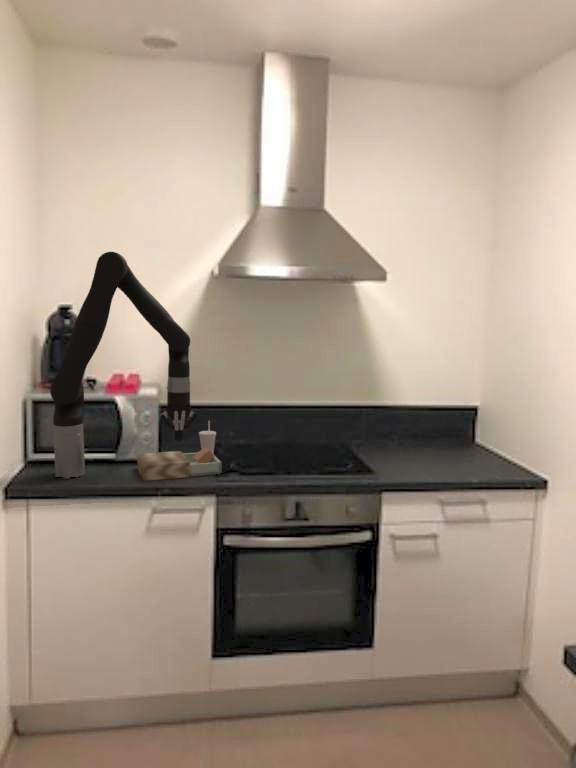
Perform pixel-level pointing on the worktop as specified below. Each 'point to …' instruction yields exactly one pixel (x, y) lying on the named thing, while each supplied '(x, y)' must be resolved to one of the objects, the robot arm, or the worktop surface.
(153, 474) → the chevron patterned box
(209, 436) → the smoothie
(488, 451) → the worktop surface
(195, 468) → the box
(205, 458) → the orange brown lump
